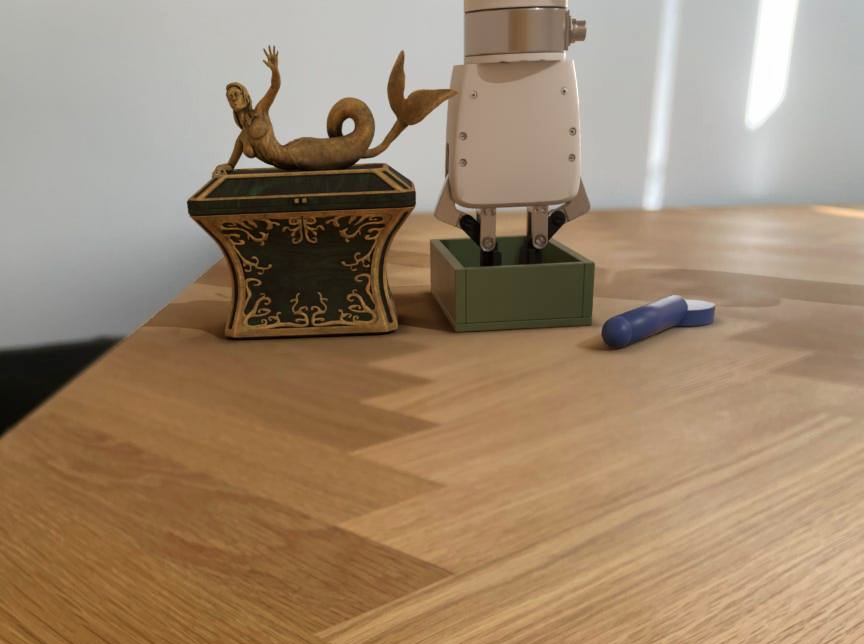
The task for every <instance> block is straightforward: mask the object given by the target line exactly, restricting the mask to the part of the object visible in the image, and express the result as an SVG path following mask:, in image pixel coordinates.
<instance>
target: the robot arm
mask: <svg viewBox="0 0 864 644" xmlns="http://www.w3.org/2000/svg"><path fill="white" fill-rule="evenodd" d="M568 4H569V0H463V64H456V65H455V64H454V65H453V66H452V71H451V76H450V82H449V89H453V90H456V91H458V93H457V94H456V95H455V96H453V97H451V98H449V99H448V100H447V111H446V126H445V145H444V146H445V148H444V149H445V150H444V154H445V156H444V182H443V184H442V187H441V189H440V192H439V195H438V196H437V197H438V198H437V200H436V203H435V204H434V205H435V206H434V208H433V212H432V213H433V216H434V218H436V219H437V220H438V221H440V222H443V223H445V224H447V225H449V226H451V227H454V228H458V229H460V230H461V231H463V232H464V233H465V234H466V235H467V236H468V238H469V237H470V238H471V239H472V240H473V241H474V242H475V243H476V244H477V245H478V246H479V247H480V267H487V266H502V253H501V252H500V251H499V250H498V242H497V241H496V240H495V239H496V236H497V233H496V232H497V209H502V208H503V209H505V208H506V209H507V208H523V207H524V208H526V220H525V221H526V222H525V223H526V226H525V235H526V237H525V238H524V245H522V247H521V248H520V258H519V265H527V264H542V249H543V248H544V247H545V246H546V245H547V242H548V241H549V240H550V239H551V238H554V236H555V235H556V233H557V232H558V231H560V229H562V227H563V226H564V225H565V224H567V223H569V222H572V221H574V220H576V219H578V218H580V217H582V216H584V215H586V214H588V213H589V212H590V210H591V203H590V200H589V197H588V193H587V191H586V188H585V185H584V182H583V180H582V177H581V165H582V164H581V163H582V152H581V151H582V149H581V148H582V147H581V144H582V142H581V118H580V99H579V88H578V79H577V73H576V66H575V60H573V59H567V58H566V55H567V53H566V52H569V47H570V46H571V45H572V44H575V43H576V42H585V41H586V37H587V29H588V28H587V21H586V19H584V20H577V18H572V15H570V13H571V11H570V9H568V6H569V5H568ZM456 205H458V206H459V207H461V208H465V209H475V217H473V216H472V215H471V214H470V213H467V212H465V211H463V210H460V209H458V208H457V207H456ZM556 205H557V206H558V205H560V206H558V207H556V208H552V209H550V210H549V206H556Z"/></svg>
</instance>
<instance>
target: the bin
mask: <svg viewBox="0 0 864 644" xmlns="http://www.w3.org/2000/svg"><path fill="white" fill-rule="evenodd" d="M525 237H526V234H513V235H496V239H495V240H496V241H497V242H498V250H499V251H500V252H501V253H502V266H487V267H480V247H479V246H478V245H477V244H476V243H475V242H474V241H473V240H472V239H471V238H470V237H469V236H468V237H453V238H452V237H450V238H432V239H429V269H430V271H429V272H430V276H429V277H430V293H431V294H432V296H433V298H434V300H435V301H436V303H437V304H438V306H439V307H440V309H441V311H442V312H443V314H444V316H445V318H446V319H447V320H448V322H449V324H450V325H451V327H452V328H453V331H454V332H455V333H464V332H465V333H467V332H484V331H487V332H488V331H503V330H505V331H506V330H521V329H522V330H525V329H543V328H560V327H561V328H562V327H579V326H580V327H583V326H592V325H593V309H594V288H595V271H596V270H595V269H596V263H595V261H593V260H591V259H590V258H587V257H586V256H584V255H583V254H581V253H579V252H577V251H576V250H574V249H572V248H570V247H569V246H567V245H565V244H564V243H562V242H560V241H558V240H557V239H555V238H554V237H552V238H551V239H550V240H549V241H548V242H547V245H546V246H545V247H544V248H543V249H542V264H527V265H519V258H520V248H521V247H522V245H524V238H525Z"/></svg>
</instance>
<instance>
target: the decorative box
mask: <svg viewBox="0 0 864 644" xmlns="http://www.w3.org/2000/svg"><path fill="white" fill-rule="evenodd" d="M267 46H268V47H267V48H268V51H267V50H266V48H263V49H262V50H263V52H264V54H265V56H266V59H267V60H265V59H262V63H263V64H265V65H266V67H268V68H269V69H270V70H271V76H270V77H271V78H270V86H269V88H268V89H267V91H266V93H265V94H264V95H263V97H262V98H261V99H260V100H259V101H258V102H257V103H256V104H255V107H254V108H253V100H252V98H251V95H250V93H249V91H248V89H247V87H246V86H245V85H243V84H241V83H240V82H238V81H233V82H230V83H228V84H226V86H225V91H226V92H225V97H226V100H227V102H228V104H229V106H230V108H231V109H232V115H233V116H232V117H233V120H234V122H235V124H236V126H237V127H238V128H239V129H240V130H241V131H240V132H239V134H238V136H237V137H236V139H235V142H234V146H233V149H232V153H231V155H230V157H229V159H228V161H227V163H225V162H224V163H221V164H218V165H217V166H216V167H215V168H214V170H213V172H212V174H211V179H209V180H208V181H207V182H206V183H205V184H204V185H202V186H201V187H200V188H199V189H198V190H197V191H195V193H194V194H192V195H191V196H190V197H188V199H187V201H186V205H187V215H189V216H188V217H190V219H192V221H194V222H195V223H196V225H198V226H199V227H200V228H201V229H202V230H203V231H204V233H206V235H208V236H209V238H211V239H212V240H213V241H214V242H215V243H216V245H217V246H218V248H219V249H220V251H221V253H222V255H223V256H224V259H225V262H226V264H227V267H228V270H229V276H230V283H231V299H230V306H229V311H228V315H227V319H226V324H225V328H224V336H225V337H229V338H232V339H237V340H257V339H258V340H260V339H261V340H262V339H284V338H288V339H289V338H310V337H311V338H312V337H338V336H363V335H364V336H365V335H383V334H387V333H391V332H394V331H395V330H398V329H399V328H398V327H399V324H398V323H399V322H398V309H397V306H396V302H395V300H394V296H393V294H392V291H391V288H390V284H389V279H388V271H387V270H388V269H387V267H388V260H389V259H388V258H389V253H390V250H391V247H392V244H393V242H394V239H395V237H396V236H397V233H398V232H399V231H400V229H401V228H402V226H403V225H404V224H405V222H406V221H407V220H408V219H409V217H410V216H411V214H412V213H413V211H414V210H415V209H416V205H417V191H416V186H415V183H414V182H413V181H412V180H410V179H409V178H408V177H406V176H405V175H403V174H402V173H401V172H399V171H398V170H397V169H395V168H393V167H392V166H390V165H389V164H388V163H386V162H368V163H366V162H365V163H364V162H363V163H358V162H359V161H360V160H366V159H373V158H376V157H378V156H379V155H381V154H383V153H384V152H385V151H386V150H387V149H388V148H389V147H390V145H391V144H392V143H393V142H394V141H395V140H397V138H398V137H399V136H400V135H401V133H402V132H403V131H405V130H406V129H407V128H408V127H409V126H415V125H418V124H419V123H421V122H422V121H423V120H425V118H427V116H428V115H430V114H431V113H432V112H433V111H435V109H436V108H438V107H439V106H440V105H442V104H443V103H444V102H446V101H448V99H449V98H451V97H453V96H455V95H456V94H457V93H458V91H456V90H453V89H450V88H437V89H425V88H421V89H416V90H414V91H412V92H410V93H409V94H408V96H407V98H406V97H405V89H406V73H405V60H406V59H405V57H406V54H405V51H404V50H403V49H402V50H401V51H400V52H399V53H398V56H397V58H396V60H395V62H394V64H393V66H392V69H391V71H390V74H389V77H388V80H387V86H386V94H387V100H388V104H389V107H390V110H391V111H392V113H393V114H394V115H395V116H396V121H395V122H394V123H393V125H392V127H391V128H390V130H389V131H388V133H387V134H386V135H385V137H384V139H383V140H382V141H381V143H379V144H378V145H376V146H375V147H373V148H370V147H371V144H372V143H373V140H374V138H375V132H376V121H375V117H374V115H373V112H372V110H371V109H370V108H369V106H368V104H367V103H366V102H365V101H363V100H361V99H359V98H356V97H352V96H350V97H349V96H348V97H347V96H346V97H342V98H341V99H339V100H338V101H336V102H335V103H334V105H333V106H332V107H331V108H330V110H329V112H328V115H327V116H326V117H327V118H326V134H327V136H328V137H323V138H320V137H313V136H301V137H298V138H295V139H294V138H293V140H290V141H288V142H287V143H284V144H281V143H280V142H279V141H278V140H277V137H276V135H275V131H274V126H273V123H272V121H271V118H270V113H269V111H270V109H271V107H272V105H273V103H274V101H275V99H276V97H277V95H278V92H279V91H280V88H281V85H282V80H281V79H282V78H281V74H280V69H279V50H276V46H275V45H273V48H271V45H270V44H268V45H267ZM268 52H269V53H268ZM348 119H351V120H352V121H353V124H354V128H353V130H352V131H351V132H349V133H347V134H345V135H344V133H343V126H344V123H345V121H347V120H348ZM242 155H244V156H245V157H246V158H248V159H255V158H256V159H257V160H259V161H260V162H262V163H264V164H266V165H268V167H250V168H249V167H248V168H236V166H237V164H238V162H239V161H240V160H241V157H242ZM269 166H272V167H269Z"/></svg>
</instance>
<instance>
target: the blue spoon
mask: <svg viewBox="0 0 864 644" xmlns="http://www.w3.org/2000/svg"><path fill="white" fill-rule="evenodd" d="M715 314H716V304H715V303H713V302H710V301H708V300H699V299H685V298H684V297H682V296H680V295H677V294H672V295H667V296H665V297H663V298H660V299H657V300H655V301H651V302H649V303H646V304H644V305H641V306H639V307H635V308H633V309H630V310H627V311H625V312H622V313H619V314H617V315H614V316H611V317H610V318H608V319H606V321H605V322H604V323H603V325H602V327H601V332H600V333H601V335H600V336H601V339H602V341H603V343H604V344H605V346H607V347H608V348H611V349H613V350H614V349H616V350H619V349H623V348H625V347H627V346H630V345H632V344H634V343H637V342H639V341H641V340H644V339H646V338H649V337H651V336H654V335H657V334H658V333H661V332H663V331H666V330H668V329H671V328H673V327H683V328H684V327H701V326H707V325H709V324H712V323H714V321H715Z"/></svg>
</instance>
